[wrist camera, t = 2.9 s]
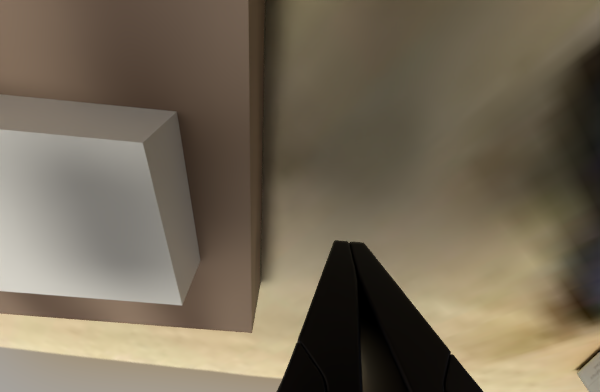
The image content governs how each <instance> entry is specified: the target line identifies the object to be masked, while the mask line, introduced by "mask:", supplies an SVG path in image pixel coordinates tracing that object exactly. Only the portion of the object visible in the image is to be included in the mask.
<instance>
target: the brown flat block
mask: <svg viewBox="0 0 600 392" xmlns="http://www.w3.org/2000/svg"><path fill="white" fill-rule="evenodd" d="M264 49H265V0H0V94H2V95H12V96H23V97H33V98H43V99H53V100H64V101H74V102H84V103H94V104H104V105H115V106H125V107H135V108H145V109H156V110H166V111H176V112H177V116H178V122H179V128H180V135H181V141H182V147H183V154H184V160H185V166H186V173H187V179H188V185H189V192H190V198H191V204H192V211H193V217H194V223H195V229H196V236H197V242H198V248H199V255H200V263H199V265H198V268H197V270H196V273H195V275H194V278H193V280H192V282H191V285H190V287H189V290H188V292H187V295H186V297H185V300H184V302H183V305H170V304H158V303H145V302H132V301H120V300H107V299H95V298H82V297H69V296H57V295H44V294H31V293H19V292H6V291H0V313H1V314H14V315H27V316H40V317H53V318H66V319H79V320H92V321H105V322H118V323H131V324H144V325H157V326H170V327H183V328H196V329H209V330H222V331H235V332H248V333H252V329H253V323H254V318H255V312H256V306H257V300H258V294H259V288H260V277H261V220H262V163H263V106H264Z"/></svg>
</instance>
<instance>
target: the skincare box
mask: <svg viewBox="0 0 600 392" xmlns="http://www.w3.org/2000/svg"><path fill="white" fill-rule="evenodd" d="M577 374H578V376H579V378H580V379H581V381H582V382H583V384H584V385H585V386H586V388H587V389H588V391H589V392H600V352H599V353H598V354H597V355H596V356H594V357H593V358H592V359H591V360H590V361H589V362H588V363H587V364H586V365H585V366H584V367H583V368H582V369H581V370H580V371H579V372H578V373H577Z"/></svg>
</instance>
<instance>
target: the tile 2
mask: <svg viewBox="0 0 600 392" xmlns="http://www.w3.org/2000/svg"><path fill="white" fill-rule="evenodd" d="M199 263H200V255H199V248H198V242H197V236H196V229H195V223H194V217H193V211H192V204H191V198H190V192H189V185H188V179H187V173H186V166H185V160H184V154H183V147H182V141H181V135H180V128H179V122H178V116H177V112H176V111H166V110H156V109H145V108H135V107H125V106H115V105H104V104H94V103H84V102H74V101H64V100H53V99H43V98H33V97H23V96H12V95H2V94H0V291H6V292H19V293H31V294H44V295H57V296H69V297H82V298H95V299H107V300H120V301H132V302H145V303H158V304H170V305H183V302H184V300H185V297H186V295H187V292H188V290H189V287H190V285H191V282H192V280H193V278H194V275H195V273H196V270H197V268H198V265H199Z"/></svg>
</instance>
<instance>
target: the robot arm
mask: <svg viewBox="0 0 600 392" xmlns="http://www.w3.org/2000/svg"><path fill="white" fill-rule="evenodd" d="M450 353H451V352H450V350H449V349H448V348H447V346H446V345H445V344H444V343H443V341H442V340H441V339H440V338H439V336H438V335H437V334H436V333H435V331H434V330H433V329H432V328H431V326H430V325H429V324H428V323H427V321H426V320H425V319H424V318H423V316H422V315H421V314H420V312H419V311H418V310H417V309H416V307H415V306H414V305H413V304H412V302H411V301H410V300H409V299H408V297H407V296H406V295H405V294H404V292H403V291H402V290H401V289H400V287H399V286H398V285H397V284H396V282H395V281H394V280H393V279H392V277H391V276H390V275H389V274H388V272H387V271H386V270H385V269H384V267H383V266H382V265H381V264H380V262H379V261H378V260H377V259H376V257H375V256H374V255H373V253H372V252H371V251H370V250H369V248H368V247H367V246H366V245H365V244H364V243H362V242H349V243H348V242H347V241H339V240H335V241H334V242H333V245H332V248H331V250H330V253H329V256H328V259H327V261H326V264H325V267H324V270H323V272H322V275H321V278H320V280H319V283H318V286H317V289H316V291H315V294H314V297H313V300H312V302H311V305H310V308H309V311H308V313H307V316H306V319H305V322H304V324H303V327H302V330H301V332H300V335H299V338H298V341H297V343H296V346H295V348H294V351H293V354H292V357H291V359H290V362H289V364H288V367H287V369H286V372H285V374H284V376H283V379H282V382H281V384H280V386H279V388H278V390H277V392H483V391H482V389H481V388H480V387H479V386H478V385H477V383H476V382H475V381H474V380H473V378H472V377H471V376H470V375H469V374H468V372H467V371H466V370H465V369H464V368H463V366H462V365H461V364H460V363H459V361H458V360H457V359H456V357H455V356H454V355H452V354H451V355H450Z"/></svg>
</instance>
